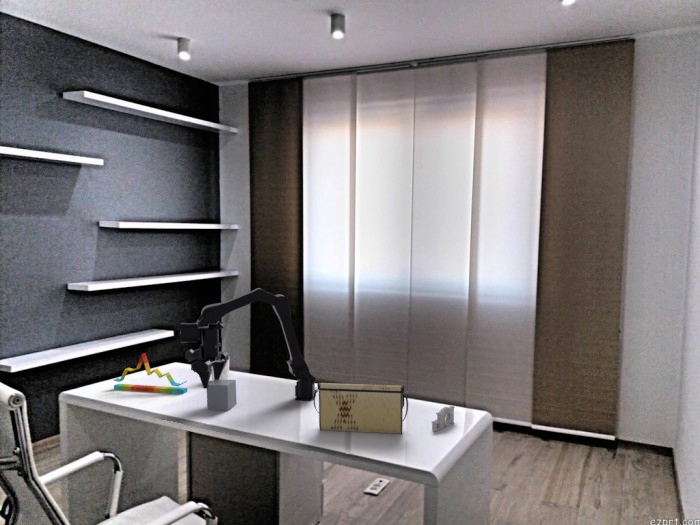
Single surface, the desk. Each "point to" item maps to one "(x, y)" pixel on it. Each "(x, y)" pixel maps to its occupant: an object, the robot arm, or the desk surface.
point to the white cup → (223, 372)
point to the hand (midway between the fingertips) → (211, 384)
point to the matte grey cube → (221, 395)
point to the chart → (149, 388)
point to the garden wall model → (443, 418)
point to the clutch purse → (361, 407)
